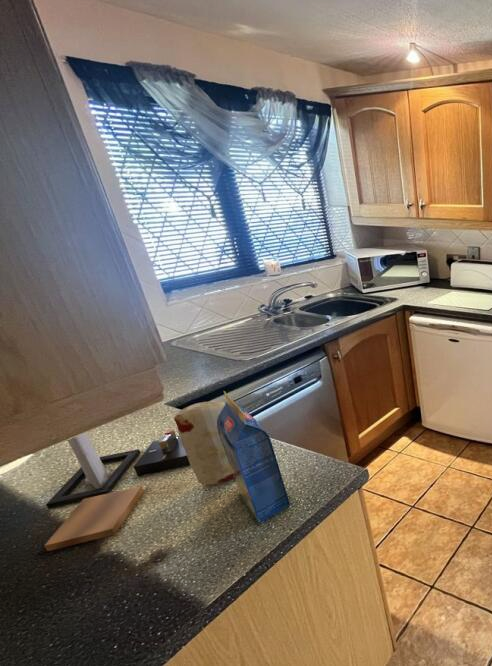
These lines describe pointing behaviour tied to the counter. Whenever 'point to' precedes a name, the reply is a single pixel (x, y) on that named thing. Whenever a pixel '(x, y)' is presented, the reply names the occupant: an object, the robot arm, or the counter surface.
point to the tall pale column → (89, 461)
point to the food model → (204, 442)
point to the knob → (168, 441)
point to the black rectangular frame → (64, 497)
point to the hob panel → (161, 459)
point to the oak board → (95, 518)
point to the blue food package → (252, 461)
